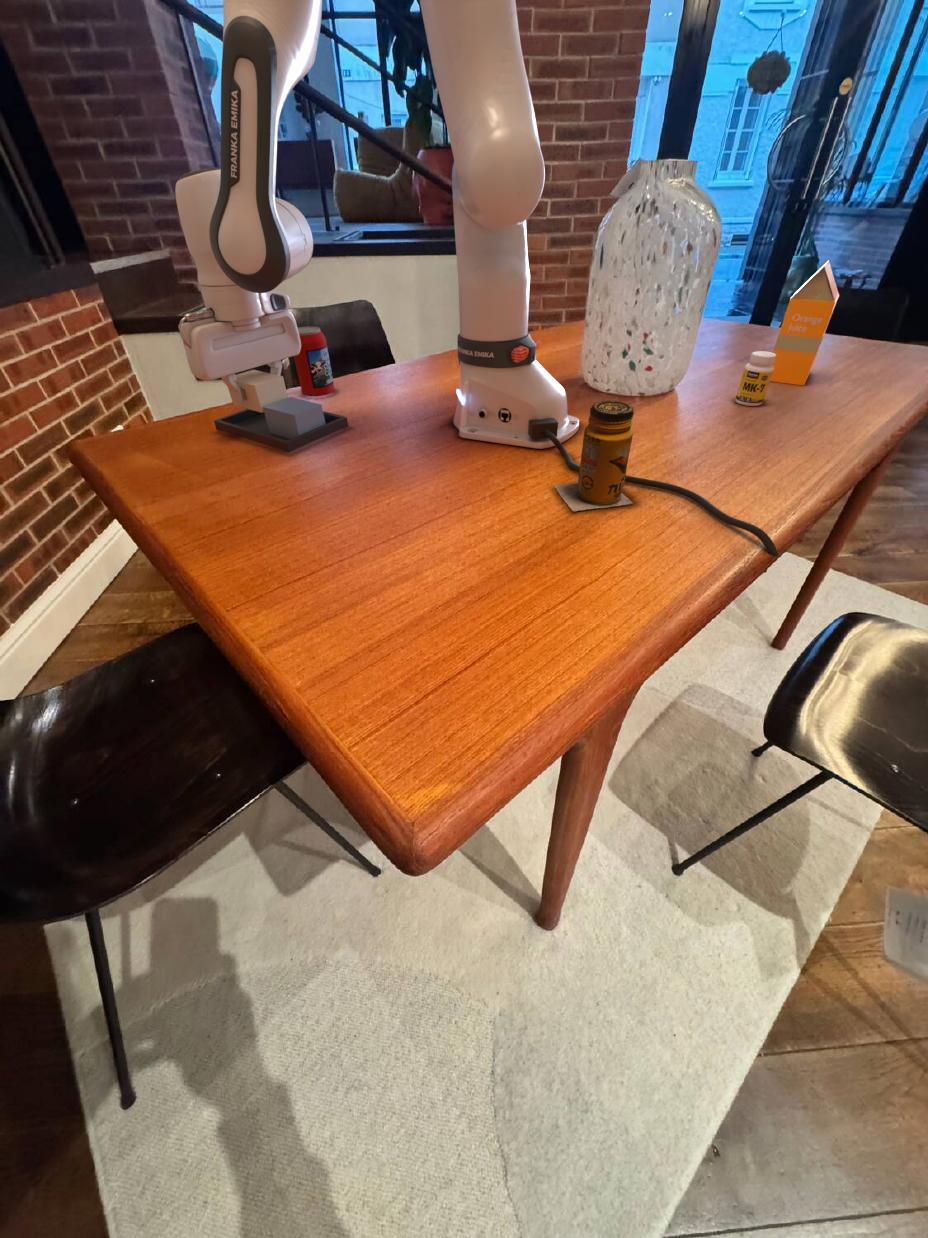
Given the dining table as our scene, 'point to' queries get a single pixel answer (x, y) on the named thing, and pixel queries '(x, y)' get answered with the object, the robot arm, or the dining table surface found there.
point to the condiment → (602, 458)
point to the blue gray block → (293, 417)
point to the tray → (257, 430)
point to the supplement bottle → (756, 378)
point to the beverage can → (313, 363)
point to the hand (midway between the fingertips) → (259, 394)
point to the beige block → (259, 389)
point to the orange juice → (804, 327)
